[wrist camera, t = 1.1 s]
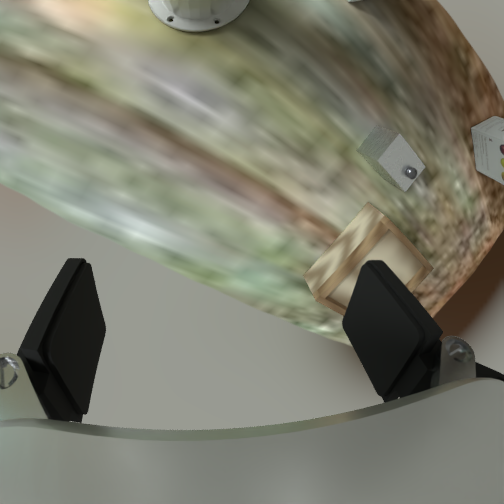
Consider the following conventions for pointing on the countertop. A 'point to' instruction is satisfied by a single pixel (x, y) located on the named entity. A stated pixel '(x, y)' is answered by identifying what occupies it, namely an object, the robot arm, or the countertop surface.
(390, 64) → the countertop surface
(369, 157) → the block
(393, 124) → the countertop surface
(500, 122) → the supplement box
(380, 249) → the tray
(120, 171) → the countertop surface
